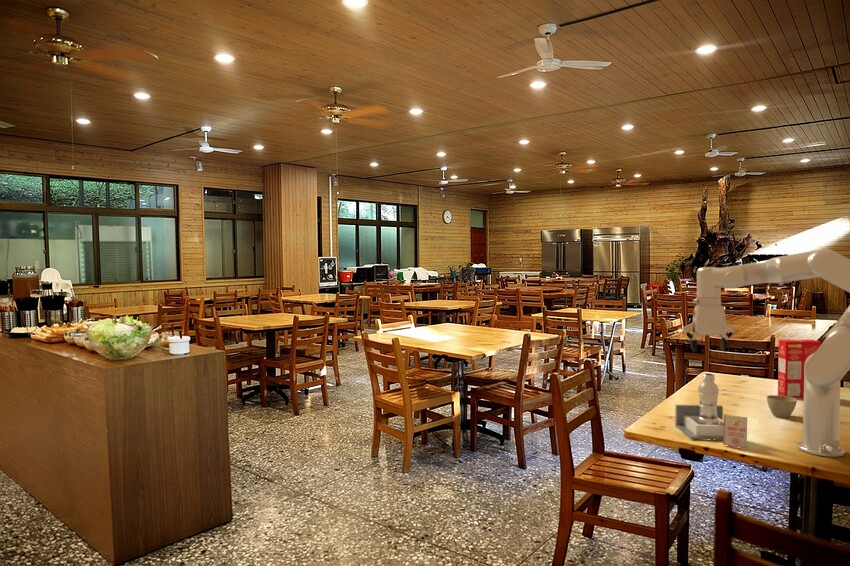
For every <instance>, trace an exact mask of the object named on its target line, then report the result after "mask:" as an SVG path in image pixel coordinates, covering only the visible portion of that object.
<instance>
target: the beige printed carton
mask: <svg viewBox="0 0 850 566" xmlns="http://www.w3.org/2000/svg"><path fill="white" fill-rule="evenodd" d="M723 421H724V431H723V441H722V442H723V443H722V446H723V445H728V446H734V447H740V448H739V449H742V448H747V449H748V416H741V415H739V416H738V415H731V414H724V415H723ZM734 447H733V448H734Z"/></svg>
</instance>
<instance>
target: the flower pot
mask: <svg viewBox="0 0 850 566" xmlns="http://www.w3.org/2000/svg"><path fill="white" fill-rule="evenodd" d="M766 401H767V405H768V408H769V410H770V412H771V414H772V416H773V417H775V416H776V417H775V418H780V419H788V418H789V417H790V416H792V414H793V412H794V410H795V408H796V406H797V402H798V399H795V398H792V397H787V396H779V395H778V394H777V395H776V394H771V395H767V396H766Z"/></svg>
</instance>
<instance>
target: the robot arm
mask: <svg viewBox="0 0 850 566" xmlns="http://www.w3.org/2000/svg"><path fill="white" fill-rule="evenodd" d="M816 278H821V279H823V280H825V281H826V282H828V283H830V284H832V285H834V286H836V287H838V288H839V289H842V290H843V291H846V292H847V293H849V294H850V259H849V258H847V257H846V256H843V255H842V254H840V253H839V252H837V251H835V250H832V249H828V248H824V249H817V250H811V251H806V252H798V253H793V254H788V255H782V256H781V255H780V256H777V257H771V258H770V259H766V260H762V261H757V262H756V261H755V262H751V263H744V264H738V265H732V266H725V267H717V266H713V267H712V266H703V267H699V268H697V270H696V297H695V298H693V299H692V303H693V304H696V305H695V306H694V309H693V314H692V322H691V323H689V324H687V325H685V326H683V327H682V331H683V332H684V334H685V335H686V337H688V339H689V340H690V349H691V351H692V352H695V353H697V352H698V340H697V338H698V337H699V336H720V341H719V347H720V348H719V349H720V351H722V352H727V349H728V340H730V338H731V337H732V335H733V334H734V333H735V330H736V326H733V325H731V324H729V323H727V319H726V313H725V312H726V311H725V307H724V305H723V306H722V300H721V299H722V298H721V297H722V293H721V292H722V291H721V290H722V288H724V289H733V290H734V289H738V288H740V287H745V286H746V287H747V286H753V285H759V284H768V283H776V284H777V283H778V284H780V283H789V282H795V281H801V280H809V279H816ZM690 329H691V330H692V333H691V332H690ZM727 329H728V331H727ZM849 370H850V304H849V305H848V307H847V308H846V309H845V311H844V312H843V314H842V315H841V316H840V317H839V319H838V320H837V322H835V324H834V325H833V326H832V327H831V328H830V329H829V330H828V332H827V333H826V336H825V339H824V340H823V342H822V343H820V347H819V348H818V350H817V351H816V352H815V353H813V354H811V355H810V356H809V357H808V358H807V359H806V361H805V364H804V399H803V410H802V413H803V414H802V416H803V418H802V421H803V422H802V440H800V441H798V442H797V443H796V448H797V449H799V450H800V451H803V452H804V453H807V454H811V455H816V456H822V457H831V458H832V457H836V458H837V457H842V456H844V455H845V453H846V450H845V449H844V448H843V447H841V446H840V441H839V440H840V408H841V380H842V379H843V377H844V376H845V375H846V374H847V372H849Z"/></svg>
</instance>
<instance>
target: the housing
mask: <svg viewBox="0 0 850 566" xmlns="http://www.w3.org/2000/svg"><path fill="white" fill-rule="evenodd" d="M699 411H700V404H675V415H674V416H675V420H674V424H675V425H674V427H676V428H677V429H678V428H679V429H680V430H681V431H682V432H681V431H680V430H679V429H678V430H679V431H680V432H681V433H682V434H684V433H685V434H686V435H687V436H688V437H689V438H688V439H690V440H691V439H710V440H709V441H713V440H714V439H715V440H723V431H724V415H723V414H724V412H723V411H724V410H723V406H722V405H719V404H717V418H718V422H719V425H699V424H698V417H699ZM685 434H684V435H685ZM686 435H685V436H686ZM687 436H686V437H687Z"/></svg>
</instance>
